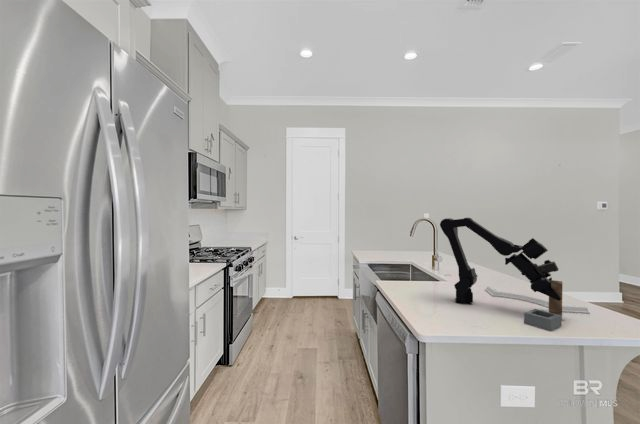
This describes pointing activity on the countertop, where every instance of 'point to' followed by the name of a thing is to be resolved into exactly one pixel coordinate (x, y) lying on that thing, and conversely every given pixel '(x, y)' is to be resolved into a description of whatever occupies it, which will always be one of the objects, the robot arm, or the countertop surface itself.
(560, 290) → the tall wooden block
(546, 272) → the robot arm
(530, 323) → the end cap
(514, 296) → the molding
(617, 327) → the countertop surface
